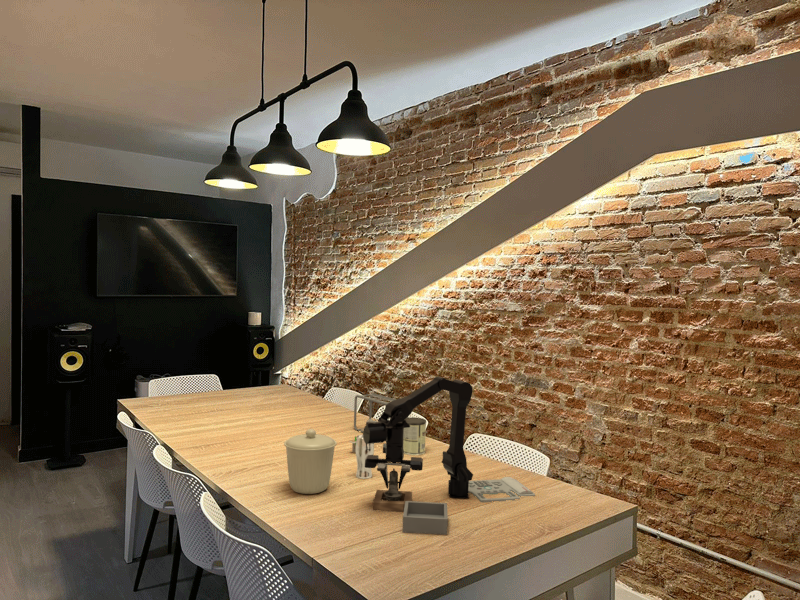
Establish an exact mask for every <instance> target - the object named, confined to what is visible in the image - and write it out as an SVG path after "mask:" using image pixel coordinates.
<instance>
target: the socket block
mask: <svg viewBox="0 0 800 600" xmlns="http://www.w3.org/2000/svg"><path fill="white" fill-rule="evenodd" d="M386 491H388V489H376V491H375V495H374V498H373V500H372V511H376V510H381V511H380V512H394V511H396V512H397V513H398V512H399V513H400V512H401V513H404V507H405V501H413V491H408V490H398V491H399V492H401V493H402V495H401V498H400V500H399V501H387V500H386V498H385V495H384V493H385V492H386Z"/></svg>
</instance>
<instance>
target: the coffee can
mask: <svg viewBox="0 0 800 600" xmlns="http://www.w3.org/2000/svg"><path fill="white" fill-rule="evenodd" d="M405 420H406V422H407V423H408V424H409V425H410V427H409V428H404V441H403V449H404V455H408V456H421V455H425V454H426V432H427V431H426V430H427V429H426V427H427V426H426V425H427V419H425V418H421V417H412V416H411V417H408V418H406V419H405Z"/></svg>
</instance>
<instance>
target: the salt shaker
mask: <svg viewBox="0 0 800 600" xmlns="http://www.w3.org/2000/svg"><path fill="white" fill-rule="evenodd" d="M398 486H399V471H397V470H395V468H392V470H391V471H390V472H389V474H388V489H387V490H388V491H386V492H385V493H384V495H385V498H386V500H385V501H399V500H400V498H401V495H402V493H401V492H399V491H400V490H399V489H398Z"/></svg>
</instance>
